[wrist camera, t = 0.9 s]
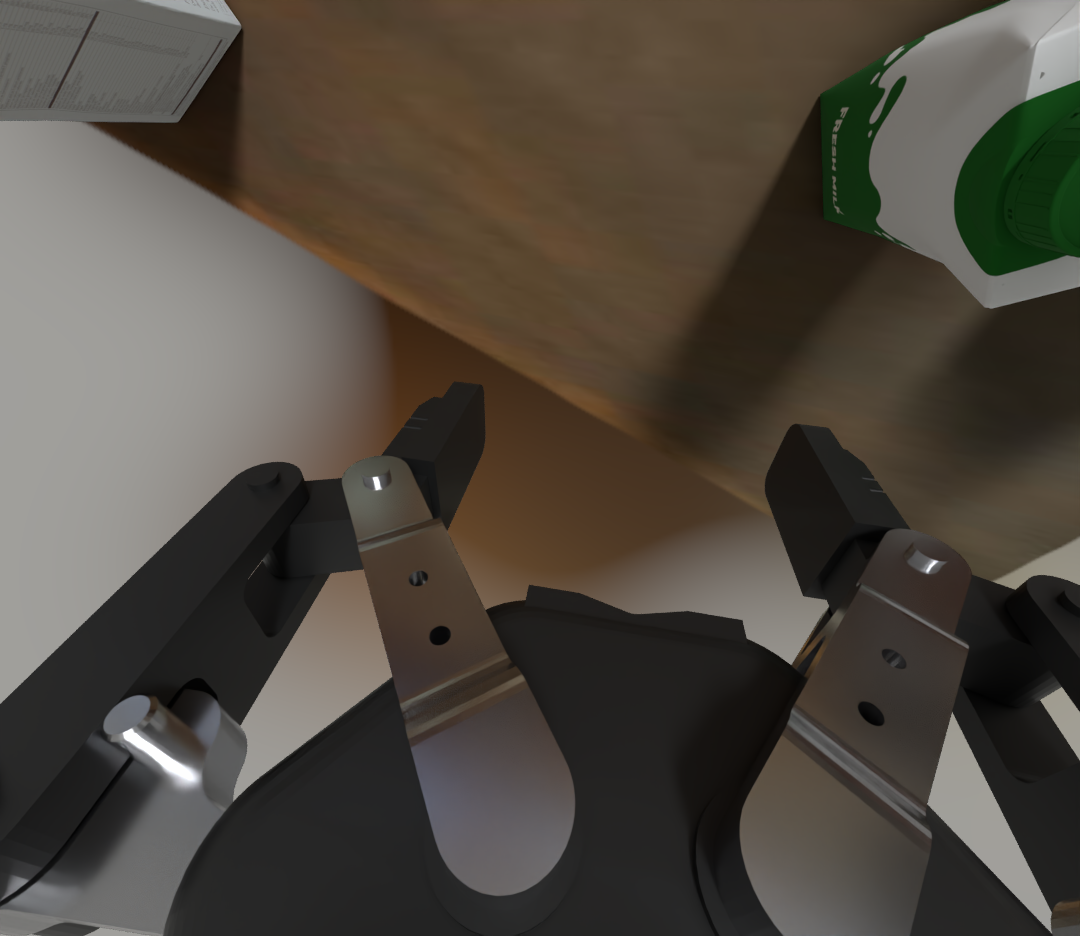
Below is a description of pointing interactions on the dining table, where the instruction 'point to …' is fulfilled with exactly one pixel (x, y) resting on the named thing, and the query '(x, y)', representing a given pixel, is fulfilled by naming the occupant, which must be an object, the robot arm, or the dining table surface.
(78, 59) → the supplement box
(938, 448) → the dining table surface
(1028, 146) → the milk carton
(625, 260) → the dining table surface
